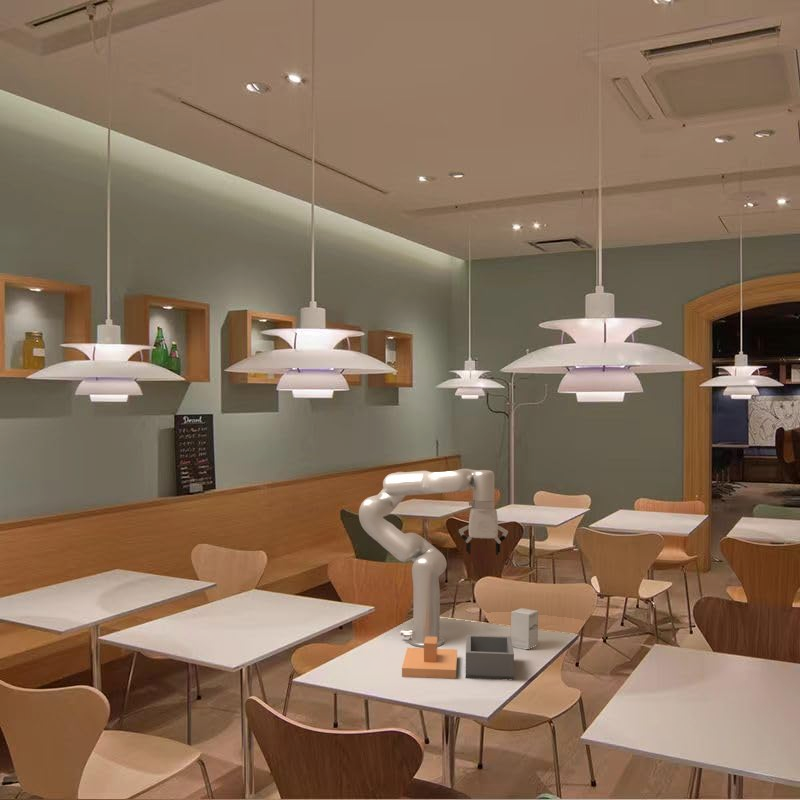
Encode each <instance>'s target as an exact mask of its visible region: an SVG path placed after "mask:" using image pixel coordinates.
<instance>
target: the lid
mask: <svg viewBox="0 0 800 800" xmlns="http://www.w3.org/2000/svg"><path fill="white" fill-rule="evenodd" d="M457 665H458V649H457V648H455V649H453V648H438V646H437V637H429V636H425V641H424V647H407V648H406V652H405V655H404V659H403V662H402V667H401V678H402V677H403V678H427V679H428V678H430V679H450V680H451V679H455V680H456V679H457V667H458V666H457Z"/></svg>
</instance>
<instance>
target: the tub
mask: <svg viewBox="0 0 800 800" xmlns="http://www.w3.org/2000/svg"><path fill="white" fill-rule="evenodd" d="M465 638H466V639H465V679H480V680H484V679H485V680H502V679H507V680H508V681H510V680H509V679H512V680H511V681H514V680H515V678H514V677H515V676H514V675H515V653H514V647H513V645H512V639H511V635H510V636H507V635H504V636H503V635H479V634H477V635H475V634H466V637H465ZM513 679H514V680H513ZM507 680H506V681H507Z"/></svg>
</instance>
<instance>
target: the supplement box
mask: <svg viewBox="0 0 800 800" xmlns="http://www.w3.org/2000/svg"><path fill="white" fill-rule="evenodd" d="M510 613H511V614H510V618H511V619H510V636H511V639H512V645H513V646H514V647H513V648H515V647H519V648H518V649H520V648H526V649H529V650H531V649H532V648H531V647H533V646H535V645H537V644H538V645H539V610H536V609H535V610H534V609H529V608H523V607H520V608H518V609H515V610H512V611H510ZM535 647H536V646H535ZM530 648H531V649H530ZM533 648H534V647H533Z"/></svg>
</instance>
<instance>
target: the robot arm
mask: <svg viewBox="0 0 800 800" xmlns="http://www.w3.org/2000/svg"><path fill="white" fill-rule="evenodd" d="M466 490H472V501H468V506H470V507H472V508H471V509H470V511H469V519H468V520H469V521H468V525H466V526H463V527H461V528H459V529H458V533H459V534H460V537H461V539H463V541H464V542H465V543H466V545H465V547H466V552H468V555H471V546H472V545H471V540H472V539H488V540H489V539H491V540H493V539H494V541H496V542H495V555H496V556H498V555H499V553H501V543H502V542H503V541H504V540H505V539H506V537H507V535H508V533H509V531H508V530H507V529H505V528H504V527H502V526H501V525H499V522H498V521H499V519H498V513H497V509H496V508H495V472H494V471H493V470H488V469H487V470H486V469H479V470H478V469H470V468H460V469H457V470H456V469H455V470H447V471H428V470H416V471H406V472H405V471H397V472H392V473H389V474H387V475H386V476H385V477H384V479H383V481H382V489H381V491H379V493H377V494H376V495H372V496H368V497H367V498H365V499H364V500H363V501H361V504H360V506H359V509H358V518H359V519H358V521H359V523H360V525H361V527H362V529H363V530H364V531H365V532H366V533H367V535H368V536H370V537H371V538H372V539H373V540H374V541H376V542H377V543H378V544H379V545H381V547H382V548H383V549H385V550H386V551H387V552H388V553H390V555H392V556H393V557H394V558H395V559H397V560H398V561H400V562H403V563H405V562H410V561H412V562H413V564H412V567H411V576H412V577H411V578H412V579H411V580H412V585H413V586H412V587H413V589H412V590H413V592H412V593H413V594H412V597H413V598H412V599H413V601H412V603H413V604H412V605H413V612H412V613H413V614H412V615H413V616H412V617H413V618H412V619H413V620H412V622H413V624H412V629H409V630H407V629H401V630H400V636H403V637H404V638H408V644H410V645H412V646H414V647H417V648H424V641H425V636H429V637H437V647H440V646H442V645H443V644H444V642H445V641H444V638H443V637H442V636H440V625H441V624H440V623H441V622H440V621H441V619H440V616H441V611H440V610H441V607H440V606H441V603H440V602H441V601H440V600H441V597H440V596H441V595H440V594H441V593H440V591H441V589H440V582H439V580H440V579H439V576H441V575H442V574H443V573H444V572H445V571H446V569H447V565H448V564H447V560H446V557H445V555H444V554H443V553H442V552H441V551H440V550H439V549H438V548H437V547H435V546H434V545H433V544H431V543H430V542H429V541H428V540H427V539H425V538H424V537H423V536H421V535H420V534H419V533H416V532H407V533H404V532H403V531H401V530H400V529H399V528H397V527H396V526H395V525H394V524H393V523H392V522H390V521H388V520H387V519H385V517H387V516H388V515H390V514H391V513H392V512H393V511H394V510H395V509H396V508H397V506H398V505H399V504H400V503H401V502H402V501H403V500H404V498H405V497H406V496H416V495H418V496H419V495H431V494H447V493H448V494H450V493H460V492H463V491H466ZM467 530H468V536H466V534H465V533H464V532H466V531H467ZM499 531H500V532H502V534H501V536H500V537H499V536H498V535H499Z"/></svg>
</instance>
